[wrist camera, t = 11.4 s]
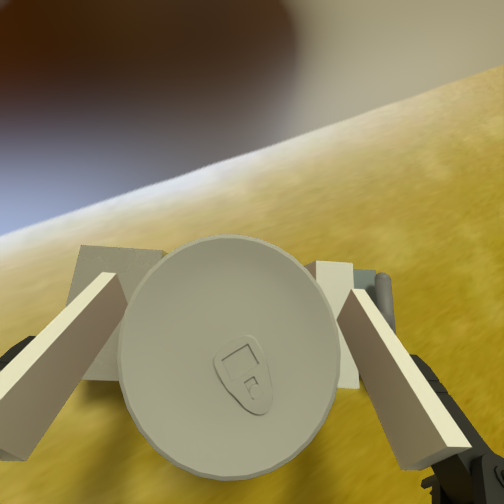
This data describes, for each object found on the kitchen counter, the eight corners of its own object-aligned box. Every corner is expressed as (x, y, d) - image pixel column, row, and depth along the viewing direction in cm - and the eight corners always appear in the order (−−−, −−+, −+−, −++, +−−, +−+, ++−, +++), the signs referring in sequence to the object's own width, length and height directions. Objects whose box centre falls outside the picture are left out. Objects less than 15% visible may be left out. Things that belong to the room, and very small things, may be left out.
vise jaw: (174, 257, 18) (162, 250, 15) (159, 365, 16) (142, 381, 13) (107, 253, 18) (81, 245, 15) (83, 363, 16) (48, 378, 13)
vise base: (366, 272, 20) (401, 266, 16) (373, 367, 19) (414, 390, 14) (107, 255, 19) (68, 244, 15) (85, 356, 17) (33, 377, 13)
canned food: (237, 383, 16) (232, 555, 6) (173, 312, 17) (60, 342, 6) (299, 314, 18) (389, 344, 7) (236, 251, 19) (231, 193, 8)
